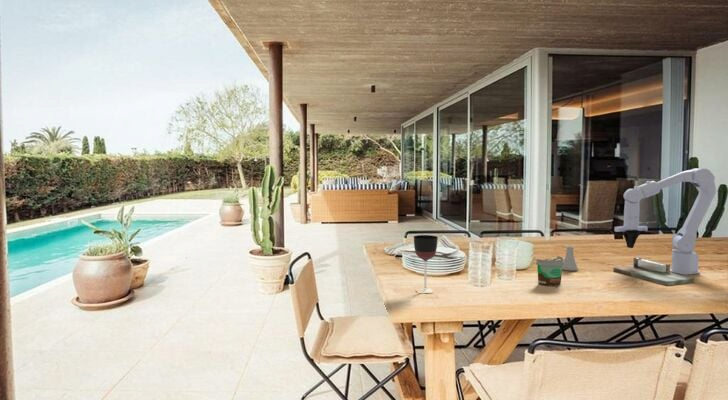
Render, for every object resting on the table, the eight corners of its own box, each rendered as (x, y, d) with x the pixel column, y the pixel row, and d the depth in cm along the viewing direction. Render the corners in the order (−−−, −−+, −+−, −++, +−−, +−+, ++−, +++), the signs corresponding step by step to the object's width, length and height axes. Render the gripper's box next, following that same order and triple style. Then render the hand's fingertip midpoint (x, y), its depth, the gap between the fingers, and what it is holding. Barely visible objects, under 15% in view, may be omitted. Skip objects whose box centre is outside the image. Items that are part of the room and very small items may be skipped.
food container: (548, 288, 166) (549, 262, 165) (535, 284, 171) (536, 259, 170) (571, 284, 171) (572, 258, 170) (557, 280, 177) (558, 255, 176)
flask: (580, 271, 191) (581, 248, 190) (562, 271, 193) (563, 248, 192) (576, 267, 198) (576, 245, 198) (558, 267, 200) (559, 245, 199)
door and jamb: (638, 268, 196) (638, 257, 195) (693, 282, 173) (694, 269, 173) (613, 271, 192) (613, 259, 191) (666, 285, 169) (667, 272, 168)
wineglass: (432, 295, 158) (432, 239, 156) (409, 292, 162) (409, 237, 161) (440, 290, 164) (441, 236, 163) (419, 286, 169) (419, 234, 167)
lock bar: (631, 265, 194) (631, 257, 194) (637, 265, 195) (637, 257, 194) (661, 273, 181) (661, 264, 180) (666, 272, 181) (667, 264, 181)
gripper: (623, 218, 189) (622, 249, 190) (653, 217, 191) (652, 248, 192) (611, 216, 196) (610, 246, 197) (641, 215, 198) (639, 245, 199)
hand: (630, 247), depth 195 cm, fingers closed
